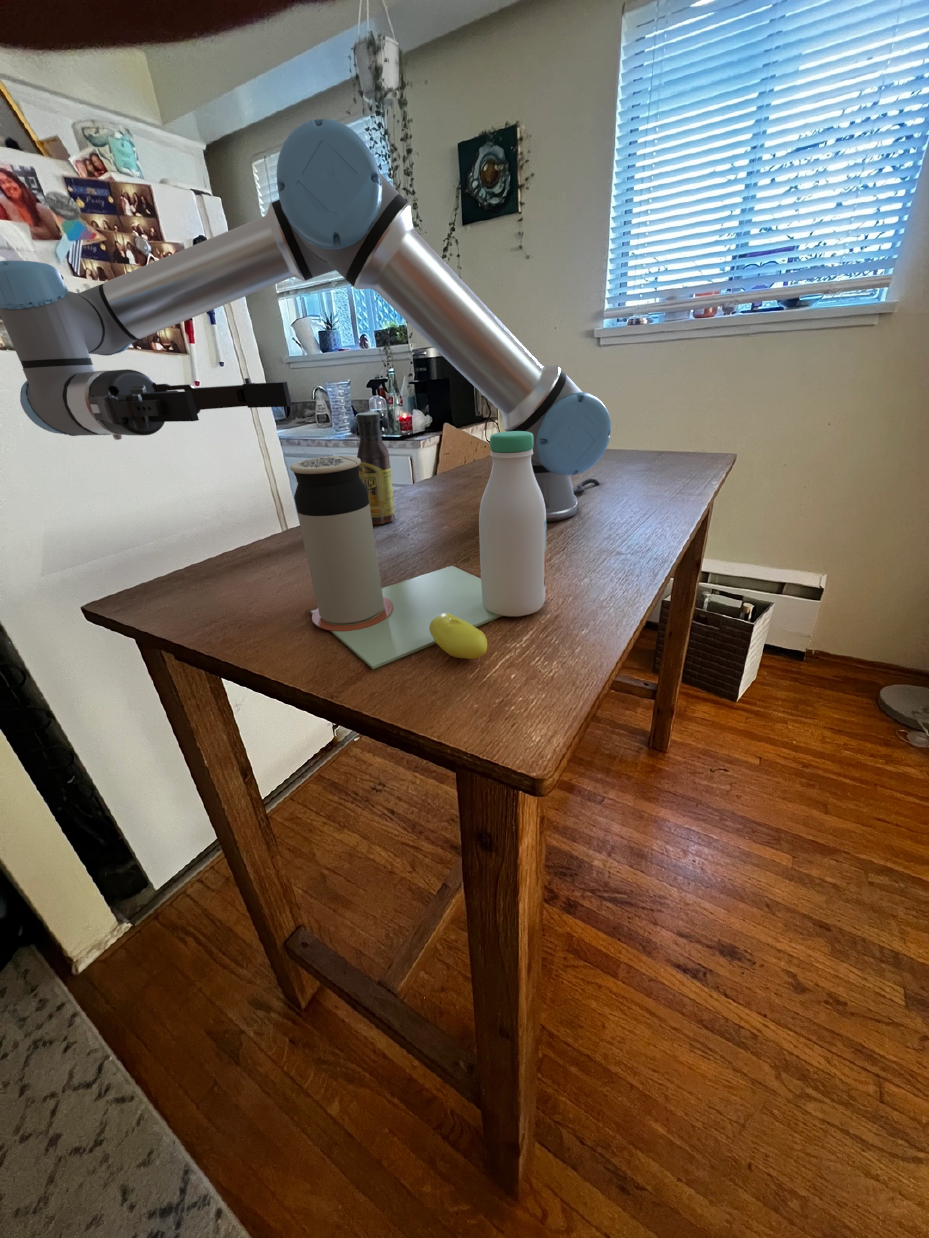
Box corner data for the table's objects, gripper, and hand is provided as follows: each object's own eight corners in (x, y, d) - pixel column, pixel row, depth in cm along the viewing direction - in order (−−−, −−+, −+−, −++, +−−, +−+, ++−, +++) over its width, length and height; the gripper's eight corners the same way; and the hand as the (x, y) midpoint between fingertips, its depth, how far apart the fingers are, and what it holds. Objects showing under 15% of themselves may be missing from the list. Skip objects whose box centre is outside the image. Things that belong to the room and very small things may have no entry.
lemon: (451, 629, 57) (450, 599, 55) (497, 661, 51) (497, 628, 49) (420, 642, 55) (417, 611, 53) (465, 676, 49) (464, 643, 47)
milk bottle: (542, 619, 58) (546, 437, 49) (477, 616, 59) (468, 440, 50) (546, 591, 64) (550, 427, 55) (487, 589, 66) (481, 429, 57)
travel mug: (326, 631, 58) (292, 473, 49) (314, 605, 64) (283, 461, 56) (392, 615, 61) (370, 462, 52) (374, 592, 67) (353, 452, 59)
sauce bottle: (357, 522, 99) (340, 414, 89) (382, 515, 103) (368, 410, 93) (378, 528, 95) (362, 415, 85) (403, 520, 99) (391, 411, 89)
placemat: (448, 566, 76) (447, 562, 75) (530, 604, 62) (530, 600, 62) (300, 613, 64) (299, 609, 64) (364, 673, 51) (363, 668, 50)
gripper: (209, 422, 75) (323, 421, 67) (24, 452, 55) (152, 456, 47) (194, 366, 71) (311, 358, 63) (-10, 376, 52) (122, 366, 43)
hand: (244, 399), depth 55 cm, fingers open, 13 cm apart
